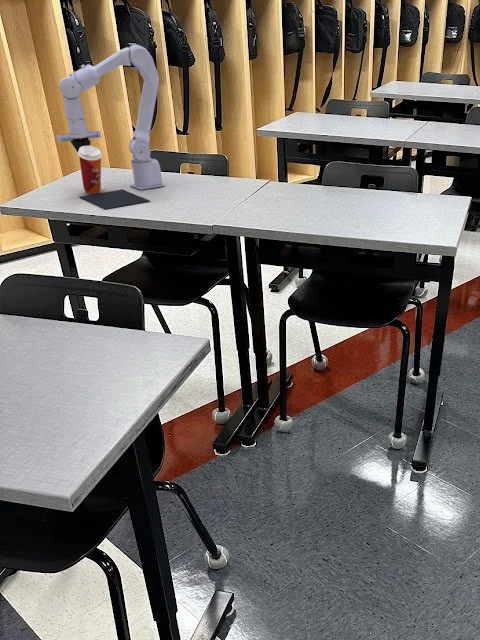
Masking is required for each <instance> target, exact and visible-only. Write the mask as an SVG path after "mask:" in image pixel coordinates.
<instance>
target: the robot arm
mask: <svg viewBox="0 0 480 640" xmlns="http://www.w3.org/2000/svg"><path fill="white" fill-rule="evenodd" d="M132 65H133V66H134V67H135V68H136V69H137V70H138V73H139V74H140V76H141V77H142V79H143V84H142V89H141V90H142V91H141V96H140V101H139V108H138V114H137V119H136V124H135V130H134V132H133V136H132V138H131V140H130V141H129V143H128V149H129V151H130V153H131V154H132V155H131V156H132V157H131V158H130V163H131V170H132V177H133V182H134V183H133V184H132V183H131V184H130V187H132V188H134V189H137V190H140V191H143V190H148V189H155V188H161V187H164V186H165V185H164V183H163V177H162V169H161V165H160V163H159V161H158V160H157V159H156V158H152V157H151V149H150V141H151V138H150V136H151V135H150V134H151V129H152V123H153V118H154V111H155V107H156V101H157V97H158V90H159V84H160V77H159V73H158V70H157V67H156V65H155V61H154V59H153V57H152V55H151V54H150V52H149V51H148V50H147V48H145V46H141V45H140V44H137V43H135V44H132V45H130V46H129V47H123V48H121V49H119V50H117V51H116V52H114V53H113V54H111V55H110V56H108V57H107V58H106V59H104V60H102V61H101V62H99V63H98V64H95V65H94V66H93V65H91V64H86V65H85V64H82V65H80V68H79V69H78V70H76V71H75V72H73V73H72V72H70V73H68V77H67V76H66V77H63V78H62V79H61V80H60V82H59V90H60V92H61V94H62V102H63V108H64V113H65V116H66V122H67V126H68V127H67V128H68V131H69V133H63V134H57V135H56V139H57V142H58V143H65V142H70V143H71V145H72V147H74V149H75V151H76V153H77V154H78V151H79V148H80V147H82V146H91V140H90V139H100V138H102V134H101V131H100V130H91V131H88V128H87V124H86V118H85V112H84V108H83V104H82V102H81V98H80V93H81V92H82V93H84V92H86V91H88V90H89V89H91V88H93V87H94V86H96V85H97V84H99V83H100V81H101V77H102V76H104V75H106V74H108V73H109V72H111V71H114V70H115V69H117V68H118V67H120V66H128V67H131V66H132Z"/></svg>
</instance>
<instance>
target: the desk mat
mask: <svg viewBox="0 0 480 640" xmlns="http://www.w3.org/2000/svg"><path fill="white" fill-rule="evenodd" d="M79 199H81V200H84V201H86V202H87V203H90V204H92V205H95V206H97V207H99V208H101V209H103V210H112V209H117V208H118V209H119V208H122V207H128V206H129V207H130V206H134V205H140V204H145V203H150V202H151V201H150V200H149V199H147V198H145V197H143V196H140V195H137V194H134V193H132V192H130V191H129V190H128V191H127V190H125V189H123V188H121V189H117V190H110V191H104V192H98V193H91V194H86V195H80V196H79Z"/></svg>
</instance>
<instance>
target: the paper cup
mask: <svg viewBox="0 0 480 640" xmlns="http://www.w3.org/2000/svg"><path fill="white" fill-rule="evenodd" d="M77 156H78V157H79V166H80V173H81V180H82V185H83V190H84V191H85V192H86V193H88V194H98V193H101V188H102V186H101V184H102V158H103V154H102V152H101V150H100V149H99V148H97V147H96V146H93V145H90V146H82V147H80V148H79V151H78V153H77Z"/></svg>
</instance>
